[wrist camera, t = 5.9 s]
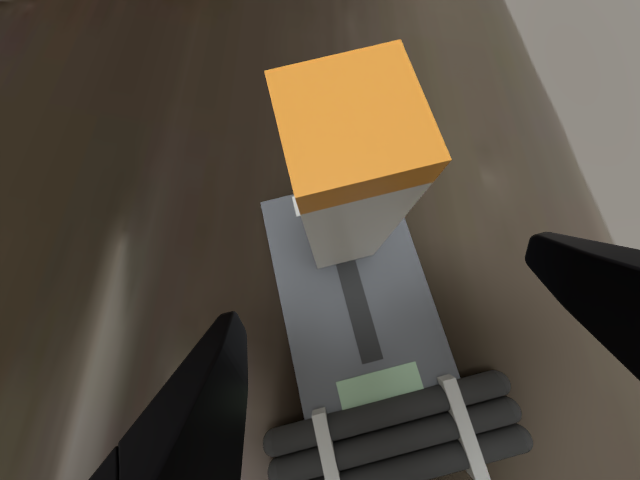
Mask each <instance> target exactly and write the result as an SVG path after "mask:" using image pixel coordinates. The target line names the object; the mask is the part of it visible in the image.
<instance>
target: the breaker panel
mask: <svg viewBox="0 0 640 480" xmlns="http://www.w3.org/2000/svg"><path fill="white" fill-rule="evenodd" d="M261 207H262V212H263V217H264V222H265V227H266V232H267V237H268V242H269V247H270V252H271V257H272V262H273V267H274V271H275V276H276V281H277V286H278V291H279V296H280V301H281V306H282V311H283V316H284V321H285V326H286V331H287V336H288V340H289V345H290V350H291V355H292V360H293V365H294V370H295V375H296V380H297V385H298V390H299V395H300V400H301V405H302V409H303V414H304V419H305V420H307V419H310V418H312V411H313V410H315V409H319V408H323V407H325V409H326V413H327V414H329V413H333V412H337V411H340V410H346V409H349V408H353V407H357V406H361V405H364V404H368V403H372V402H376V401H379V400H383V399H387V398H391V397H394V396H398V395H402V394H406V393H409V392H413V391H417V390H421V389H424V388H427V387H431V386H434V385H438V384H439V383H438V380H437V377H440V376H443V375H447V374H450V375H452V376H453V377H455V378H456V380H457V379H461V378H460V375H459V373H458V370H457V367H456V364H455V361H454V358H453V355H452V353H451V350H450V347H449V344H448V341H447V338H446V335H445V333H444V330H443V327H442V324H441V321H440V318H439V315H438V313H437V310H436V307H435V304H434V301H433V298H432V295H431V292H430V290H429V287H428V284H427V281H426V278H425V275H424V272H423V270H422V267H421V264H420V261H419V258H418V255H417V252H416V250H415V247H414V244H413V241H412V238H411V235H410V232H409V230H408V227H407V224H406V221H405V218H403V219H402V221H401V222H400V223H399V224H398V225H397V227H396V228H395V229H394V230H393V232H392V233H391V234H390V235H389V236H388V238H387V239H386V240H385V241H384V242H383V244H382V245H381V246H380V247H379V249H378V250H377V251H376V252H375V253H374V255H371V256H367V257H363V258H359V259H355V260H351V261H347V262H343V263H339V264H335V265H331V266H327V267H323V268H319V269H318V268H317V265H316V262H315V259H314V256H313V253H312V250H311V246H310V243H309V240H308V237H307V234H306V231H305V228H304V225H303V222H302V218H301V215H300V212H299V209H298V206H297V203H296V200H295V196H294V194H293V195H289V196H285V197H281V198H277V199H272V200H268V201H264V202H261Z"/></svg>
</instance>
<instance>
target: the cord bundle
mask: <svg viewBox="0 0 640 480" xmlns="http://www.w3.org/2000/svg"><path fill="white" fill-rule="evenodd" d="M437 380H438V383H439V384H438V385H434V386H431V387H427V388H424V389H421V390H417V391H413V392H409V393H406V394H402V395H398V396H394V397H391V398H387V399H383V400H379V401H376V402H372V403H368V404H364V405H361V406H357V407H353V408H349V409H346V410H340V411H337V412H333V413H329V414H327V413H326V409H325V407H323V408H319V409H315V410H313V411H312V418H310V419H307V420H302V421H298V422H295V423H291V424H287V425H283V426H280V427H276V428H273V429H270V430H269V431H268V432H267V433H266V435H265V436H264V439H263V449H264V451H265V453H266V454H267V455H268V456H270V457H275V458H274V459H273V460H272V461H271V462H270V464H269V467H268V479H269V480H429V479H433V478H437V477H440V476H444V475H448V474H451V473H455V472H458V471H462V470H466V471H467V473H468V474H469V475H470V476H471V478H472V479H473V480H491V479H490V476H489V473H488V470H487V467H486V464H488V463H491V462H495V461H498V460H502V459H506V458H509V457H513V456H517V455H520V454H524V453H527V452H529V451H530V450H531V449H532V447H533V440H532V437H531V435H530V433H529V432H528V431H527V430H526V429H525V428H524V427H522V426H521V425H519V424H515V423H517V422H518V421H519V420H520V419H521V416H522V413H521V409H520V407H519V405H518V404H517V403H516V402H515V401H514V400H513V399H511V398H509V397H506V396H504V395H506V394H508V393H509V391H510V389H511V384H510V381H509V379H508V378H507V376H506V375H505V374H503V373H502V372H500V371H497V370H490V371H486V372H483V373H479V374H475V375H471V376H468V377H464V378H461V379H457V380H456V378H455V377H453V376H452V375H450V374H447V375H443V376H440V377H437Z"/></svg>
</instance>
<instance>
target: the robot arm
mask: <svg viewBox="0 0 640 480" xmlns="http://www.w3.org/2000/svg"><path fill="white" fill-rule="evenodd" d="M525 261H526V264H527V265H528V267H529V268H530V269H531V270H532V271H533V272H534V273H535V275H536V276H537V277H538V278H539V279H540V280H541V282H542V283H543V284H544V285H545V286H546V287H547V289H548V290H549V291H550V292H551V293H552V294H553V295H554V297H555V298H556V299H557V300H558V301H559V302H560V303H561V305H562V306H563V307H564V308H565V309H566V310H567V311H568V312H569V313H570V314H571V315H572V316H573V317H574V318H575V319H576V320H577V321H579V322H580V323H581V324H582V325H583V326H584V327H585V328H586V329H587V330H588V331H589V332H590V333H591V334H592V335H593V336H594V337H595V338H596V339H597V340H598V341H599V342H600V343H601V344H602V345H603V346H604V347H605V348H606V349H607V350H608V351H610V352H611V353H612V354H613V355H614V356H615V357H616V358H617V359H618V360H619V361H620V362H621V363H622V364H623V365H624V366H625V367H626V368H627V369H628V370H629V371H630V372H631V373H632V374H633V375H634V376H635V377H636V378H637V379H638V380H639V381H640V250H638V249H633V248H628V247H623V246H618V245H613V244H608V243H603V242H598V241H593V240H587V239H582V238H577V237H572V236H567V235H562V234H557V233H552V232H543V233H539V234H535V235H533V236H532V237H531V238H530V240H529V243H528V247H527V251H526V255H525ZM247 396H248V363H247V334H246V330H245V328H244V326H243V324H242V322H241V320H240V318H239V316H238V314H237V313H236V312H235V311H231V312H227V313H223V314H221V315H220V316H219V317H218V318H217V319H216V320H215V322H214V323H213V324H212V325H211V327H210V328H209V329H208V330H207V332H206V333H205V334H204V336H203V337H202V338H201V339H200V341H199V342H198V343H197V344H196V346H195V347H194V348H193V349H192V351H191V352H190V353H189V354H188V356H187V357H186V358H185V359H184V361H183V362H182V363H181V364H180V366H179V367H178V368H177V370H176V371H175V372H174V373H173V375H172V376H171V377H170V378H169V380H168V381H167V382H166V383H165V385H164V386H163V387H162V388H161V390H160V391H159V392H158V393H157V395H156V396H155V397H154V399H153V400H152V401H151V402H150V404H149V405H148V406H147V407H146V409H145V410H144V411H143V412H142V414H141V415H140V416H139V417H138V419H137V420H136V421H135V422H134V424H133V425H132V426H131V427H130V429H129V430H128V431H127V433H126V434H125V435H124V436H123V438H122V439H121V440H120V441H119V443H118V446H116V447H115V448H114V449H113V450H112V451H111V452H110V454H109V455H108V456H107V458H106V459H105V460H104V461H103V463H102V464H101V465H100V466H99V468H98V469H97V470H96V471H95V472H94V474H93V475H92V476H91V477H90V479H89V480H241V468H242V456H243V444H244V432H245V421H246V409H247Z"/></svg>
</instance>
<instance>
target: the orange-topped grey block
mask: <svg viewBox="0 0 640 480" xmlns="http://www.w3.org/2000/svg"><path fill="white" fill-rule="evenodd" d="M264 72H265V76H266V80H267V84H268V88H269V92H270V97H271V101H272V105H273V109H274V113H275V117H276V121H277V126H278V130H279V134H280V138H281V142H282V146H283V151H284V155H285V159H286V163H287V167H288V171H289V176H290V180H291V184H292V188H293V192H294V196H295V200H296V203H297V206H298V209H299V212H300V215H301V218H302V222H303V225H304V228H305V231H306V234H307V237H308V240H309V243H310V246H311V250H312V253H313V256H314V259H315V262H316V265H317V268H318V269H319V268H323V267H327V266H331V265H335V264H339V263H343V262H347V261H351V260H355V259H359V258H363V257H367V256H371V255H374V253H375V252H376V251H377V250H378V249H379V247H380V246H381V245H382V244H383V242H384V241H385V240H386V239H387V238H388V236H389V235H390V234H391V233H392V232H393V230H394V229H395V228H396V227H397V225H398V224H399V223H400V222H401V221H402V219H403V218H404V217H405V216H406V215H407V213H408V212H409V211H410V210H411V208H412V207H413V206H414V205H415V204H416V202H417V201H418V200H419V199H420V198H421V196H422V195H423V194H424V193H425V192H426V190H427V189H428V188H429V187H430V185H431V184H432V183H433V182H434V181H435V179H436V178H437V177H438V176H439V175H440V173H441V172H442V171H443V170H444V168H445V167H446V166H447V165H448V164H449V162H450V161H451V160H452V159H451V157H450V155H449V152H448V150H447V147H446V145H445V143H444V140H443V138H442V136H441V133H440V131H439V129H438V126H437V124H436V122H435V119H434V117H433V114H432V112H431V110H430V107H429V105H428V103H427V100H426V98H425V96H424V93H423V91H422V89H421V86H420V84H419V81H418V79H417V77H416V74H415V72H414V70H413V67H412V65H411V63H410V60H409V58H408V56H407V53H406V51H405V48H404V46H403V44H402V41H401V39H400V40H396V41H391V42H387V43H383V44H378V45H374V46H370V47H365V48H361V49H357V50H352V51H348V52H344V53H339V54H335V55H331V56H326V57H322V58H318V59H313V60H309V61H305V62H301V63H296V64H292V65H288V66H283V67H279V68H275V69H270V70H266V71H264Z"/></svg>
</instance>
